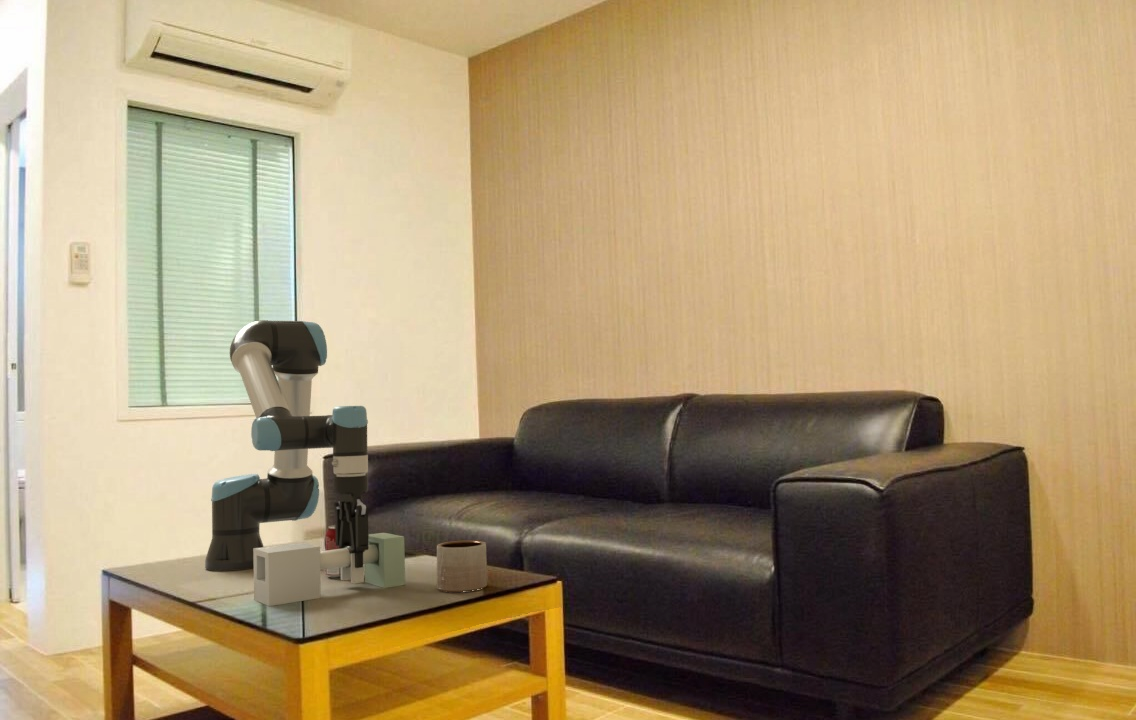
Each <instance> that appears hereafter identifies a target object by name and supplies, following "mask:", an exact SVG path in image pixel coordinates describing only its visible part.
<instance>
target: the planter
mask: <svg viewBox="0 0 1136 720" xmlns="http://www.w3.org/2000/svg"><path fill="white" fill-rule="evenodd" d="M487 566H488V565H487V542H485V541H480V540H454V541H447V542H441V543H438V544H437V545H436V586H437V589H438V590H439V591H440V592H443V591H447V592H446V593H449V592H463V591H472V590H477V589H481V588H483V589H485V588H486V586H488V567H487ZM484 587H485V588H484ZM481 590H482V589H481Z"/></svg>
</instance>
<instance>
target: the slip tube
mask: <svg viewBox="0 0 1136 720" xmlns="http://www.w3.org/2000/svg"><path fill="white" fill-rule="evenodd" d="M349 551H352V546H347V547H344V548H342V549H335V550H327V551H326V550H320V571H324V570H325V571H326V569H333V568H340V567H346V568H350V567H351V558H350V553H349ZM378 557H379V553H378V548H377V546H376V545H369V548H368V550H365V552H363V558H364V565H365V564H368V563H375V562H377V561H378Z"/></svg>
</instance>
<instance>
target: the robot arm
mask: <svg viewBox="0 0 1136 720" xmlns="http://www.w3.org/2000/svg"><path fill="white" fill-rule="evenodd" d="M326 339H327V338H326V335H325V332H324V331H323V328H322V327H321V325H320V324H318V323H317V322H312V321H304V320H265V319H263V320H257V321H252V322H250V323H249V324H246V325H245V326H244V327H242V328H241V329H239V331H237V333H236V334H235V336H234V337H233V339H232V341H231V343H230V347H229V358H230V362H231V366H232V367H233V369H234V370H235V371H236V372H238V373H240V377H241V379H242V382H243V385H244V387H245V391H246V393H247V396H248V399H249V401H250V404H251V407H252V410H253V412H254V415H255V419H253V421H252V423H251V434H250V435H251V436H250V437H251V443H252V446H253V448H254V449H255V450H257V451H270V452H274V454H273V455H274V457H273V459H274V460H273V465H272V466H271V467H270V468H269V469H268V470H267V477H266V478H260V475H259V474H258V473H251V474H241V475H235V476H231V477H230V476H229V477H227V478H223V479H219V480H217V481H215V482H214V483H213V485H212V490H211V498H210V501H211V530H212V531H211V541H210V544H209V546H208V550H207V553H206V556H205V560H204V569H205V568H206V569H205V570H207V569H209V571H216V570H221V571H224V572H225V571H238V570H246V569H254V560H253V548H262V547H265V546H264V543H263V540H262V537H261V534H260V533H261V532H260V524H262V523H264V524H265V523H275V522H285V521H286V522H287V521H293V522H294V521H298V520H303V519H309V518H310V517H312V516H313V514H314V513H315V511H316V509H317V507H318V505H319V498H320V497H319V496H320V488H319V487H320V484H319V480H318V478H317V476H315V475H313V473H314V472H313V470H312V469H311V468H310V466H309V465H308V455H309V453H308V452H309V450H312V449H314V450H315V449H329V448H330V449H332V459H333V460H332V461H331V465H332V466H333V471H332V472H333V474H334V475H335V476H334V477H333V481H332V483H333V484H332V485H333V486H332V490H333V493H334V494H336V495H339V501H335V502H333V507H334V517H335V518H334V523H335V524H334V525H335V538H336V546H339V549H342V548H344V547H347V546H352V551H349V553H350V558H351V567H350V568H346V567H341V579H340V581H347V580H350V584H359V583H365V564H364V558H363V552H365V550H368V548H369V543H368V534H369V512H370V505H369V504H364V500H363V493H367V492H368V491H369V476H368V475H366V474H367V473H368V472H369V460H368V459H369V454H368V423H369V421H368V417H367V414H368V413H367V409H366V407H365V406H363V405H339V406H335V407H333V409H332V414H327V415H311V404H312V403H311V402H312V401H311V400H312V384H313V381H312V380H313V378H315V377H316V375H318V374H319V367H322V366H324V365H326V362H327V358H328V346H327V340H326ZM351 543H352V545H351Z"/></svg>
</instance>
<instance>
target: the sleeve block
mask: <svg viewBox="0 0 1136 720" xmlns="http://www.w3.org/2000/svg"><path fill="white" fill-rule="evenodd" d="M320 551H321V546H319V545H315V544H311V543H307V542H296V543H289V544H280V545H272V546H271V545H270V546H264V547H262V548H253V560H254V568H253V600H254V601H256V602H258V603H261V604H263V605H266V606H267V607H270V606H272V607H273V606H278V605H287V604H291V603H298V602H302V601H303V602H304V601H310V600H316V599H321V597H322V595H321V594H322V591H321V589H322V587H321V585H322V584H321V582H322V581H321V579H322V578H321V576H322V575H321V570H320Z"/></svg>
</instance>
